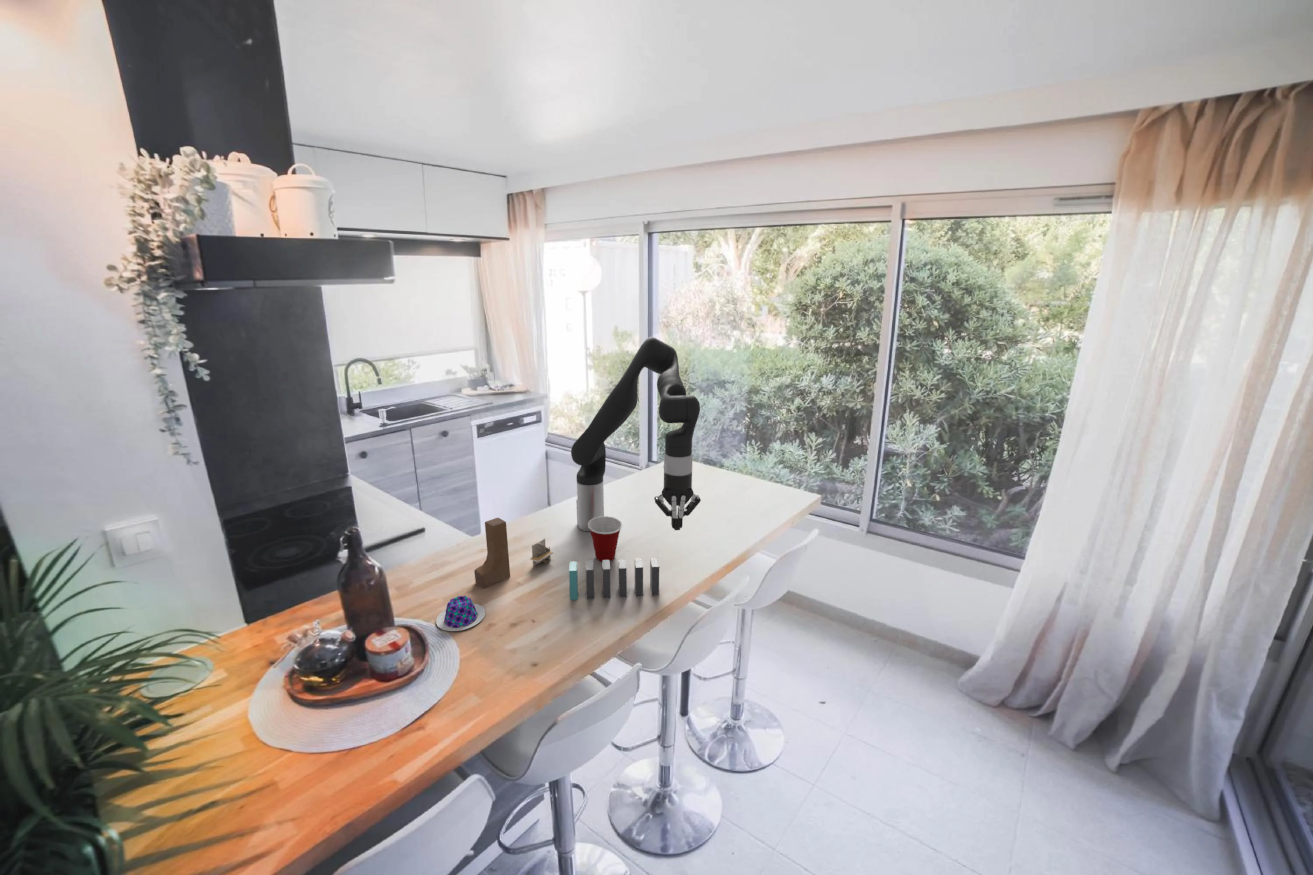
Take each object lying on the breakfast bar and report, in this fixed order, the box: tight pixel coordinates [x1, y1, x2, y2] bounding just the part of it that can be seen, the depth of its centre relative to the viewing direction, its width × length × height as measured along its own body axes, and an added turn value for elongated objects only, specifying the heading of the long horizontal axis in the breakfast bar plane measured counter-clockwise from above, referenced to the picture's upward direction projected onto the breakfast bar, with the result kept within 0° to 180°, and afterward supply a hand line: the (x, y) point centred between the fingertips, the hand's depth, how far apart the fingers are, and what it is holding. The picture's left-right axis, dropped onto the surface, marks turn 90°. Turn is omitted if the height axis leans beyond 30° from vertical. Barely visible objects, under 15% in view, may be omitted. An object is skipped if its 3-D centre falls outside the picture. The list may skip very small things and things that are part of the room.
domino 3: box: [601, 560, 611, 599], centre depth 149 cm, size 2×5×9 cm, turn 6°
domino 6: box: [649, 557, 660, 597], centre depth 150 cm, size 2×5×9 cm, turn 6°
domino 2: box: [585, 560, 595, 600], centre depth 148 cm, size 2×5×9 cm, turn 6°
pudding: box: [435, 595, 486, 632], centre depth 138 cm, size 12×12×5 cm
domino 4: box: [617, 558, 628, 598], centre depth 149 cm, size 2×5×9 cm, turn 6°
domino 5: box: [634, 557, 644, 598], centre depth 150 cm, size 2×5×9 cm, turn 6°
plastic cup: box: [588, 515, 623, 563], centre depth 167 cm, size 11×11×12 cm
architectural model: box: [529, 538, 554, 567], centre depth 164 cm, size 3×7×7 cm, turn 147°
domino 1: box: [568, 561, 579, 601], centre depth 148 cm, size 2×5×9 cm, turn 7°
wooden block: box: [473, 517, 511, 589], centre depth 153 cm, size 9×4×18 cm, turn 136°
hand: (676, 528), depth 147 cm, fingers closed
